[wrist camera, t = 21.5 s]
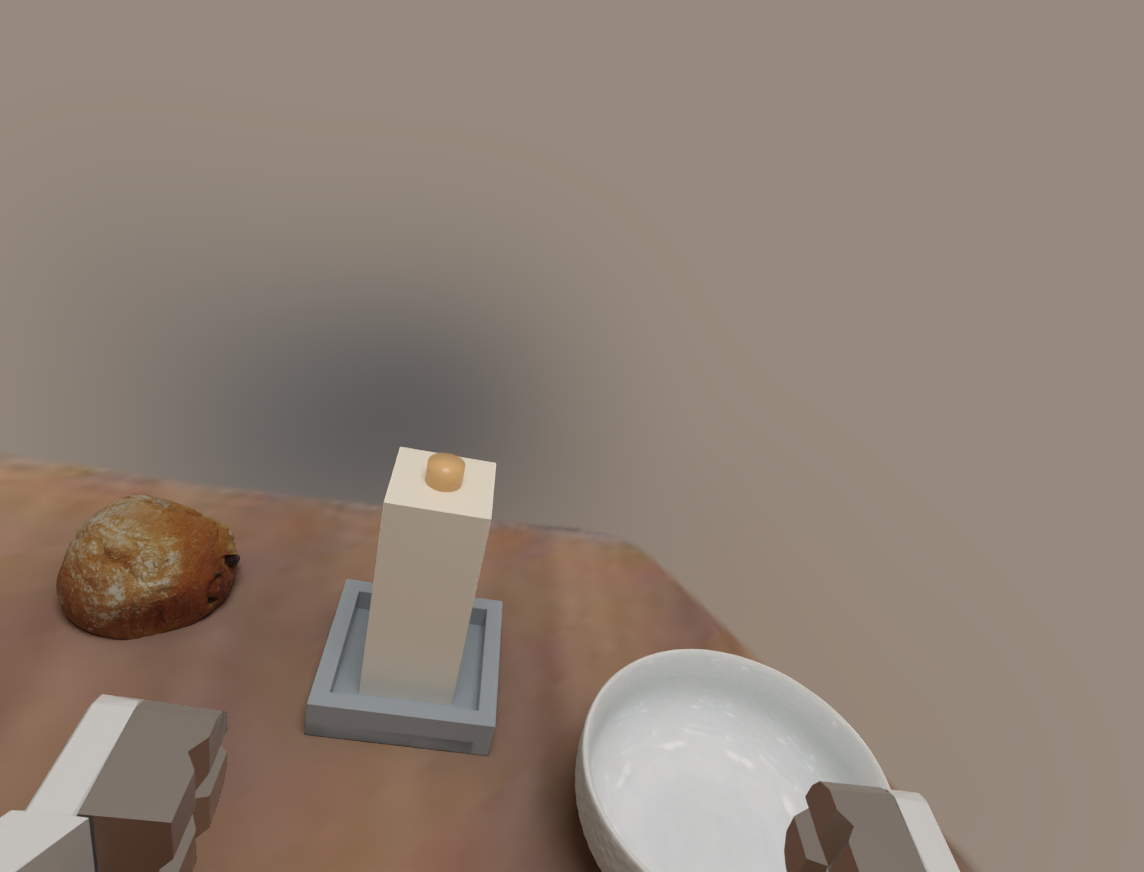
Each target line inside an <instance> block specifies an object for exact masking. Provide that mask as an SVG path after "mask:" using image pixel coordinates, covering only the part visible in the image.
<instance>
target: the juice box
mask: <svg viewBox="0 0 1144 872" xmlns="http://www.w3.org/2000/svg"><path fill="white" fill-rule="evenodd" d="M495 471H496V463H493V462H486V461H481V460H475V459H469V458H463V457H458V456H456V455H453V454H449V453H434V452H427V451H422V450H416V449H410V448H404V447H400V449H399V453H398V456H397V459H396V463H395V466H394V469H393V473H392V476H391V480H390V483H389V486H388V490H387V493H386V496H385V500H384V504H383V512H382V519H381V527H380V535H379V542H378V550H377V558H376V565H375V573H374V581H373V588H372V596H371V604H370V611H369V619H368V627H367V634H366V642H365V650H364V657H363V665H362V673H361V680H360V688H359V694H364V695H372V696H380V697H388V698H396V699H404V700H412V701H419V702H427V703H435V704H443V705H452V701H453V696H454V691H455V687H456V682H457V677H458V673H459V668H460V663H461V658H462V654H463V649H464V644H465V640H466V635H467V630H468V626H469V621H470V616H471V612H472V607H473V602H474V598H475V593H476V588H477V584H478V579H479V574H480V570H481V565H482V560H483V556H484V551H485V546H486V542H487V537H488V532H489V528H490V523H491V516H492V505H493V494H494V483H495Z"/></svg>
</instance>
